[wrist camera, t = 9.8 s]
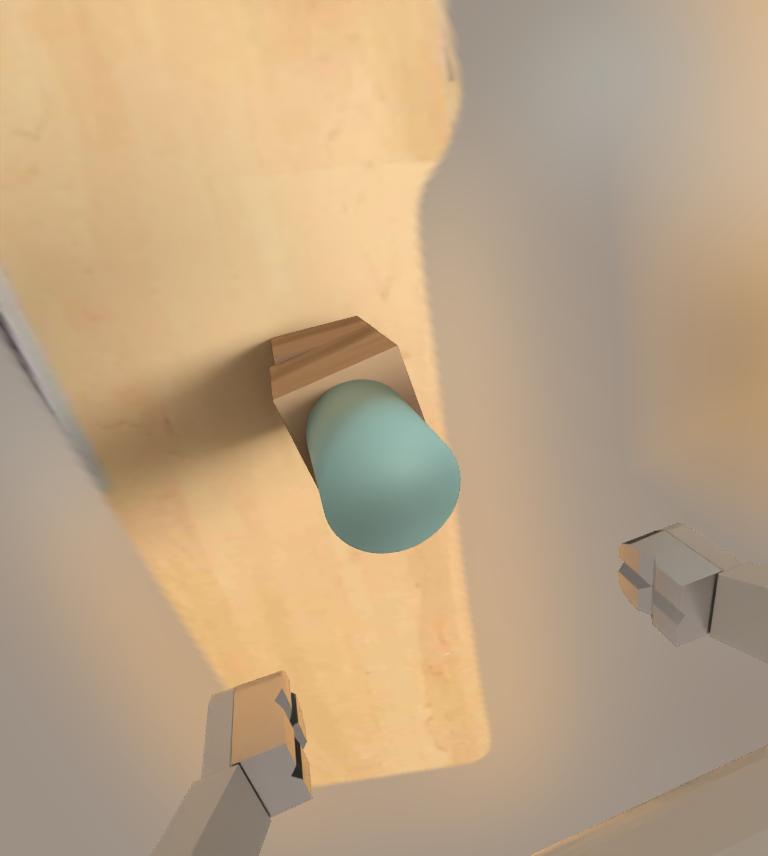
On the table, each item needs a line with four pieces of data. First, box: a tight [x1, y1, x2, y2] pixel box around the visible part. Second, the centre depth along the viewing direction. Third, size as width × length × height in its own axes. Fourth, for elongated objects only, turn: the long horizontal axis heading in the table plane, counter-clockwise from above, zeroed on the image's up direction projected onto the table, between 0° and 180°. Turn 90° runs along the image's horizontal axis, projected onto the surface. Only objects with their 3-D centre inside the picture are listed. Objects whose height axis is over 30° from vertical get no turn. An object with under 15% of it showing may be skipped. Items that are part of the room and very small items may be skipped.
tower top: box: [270, 325, 425, 490], centre depth 24 cm, size 6×6×6 cm
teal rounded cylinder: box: [306, 379, 460, 553], centre depth 19 cm, size 5×5×6 cm
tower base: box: [271, 316, 376, 364], centre depth 30 cm, size 6×6×6 cm
